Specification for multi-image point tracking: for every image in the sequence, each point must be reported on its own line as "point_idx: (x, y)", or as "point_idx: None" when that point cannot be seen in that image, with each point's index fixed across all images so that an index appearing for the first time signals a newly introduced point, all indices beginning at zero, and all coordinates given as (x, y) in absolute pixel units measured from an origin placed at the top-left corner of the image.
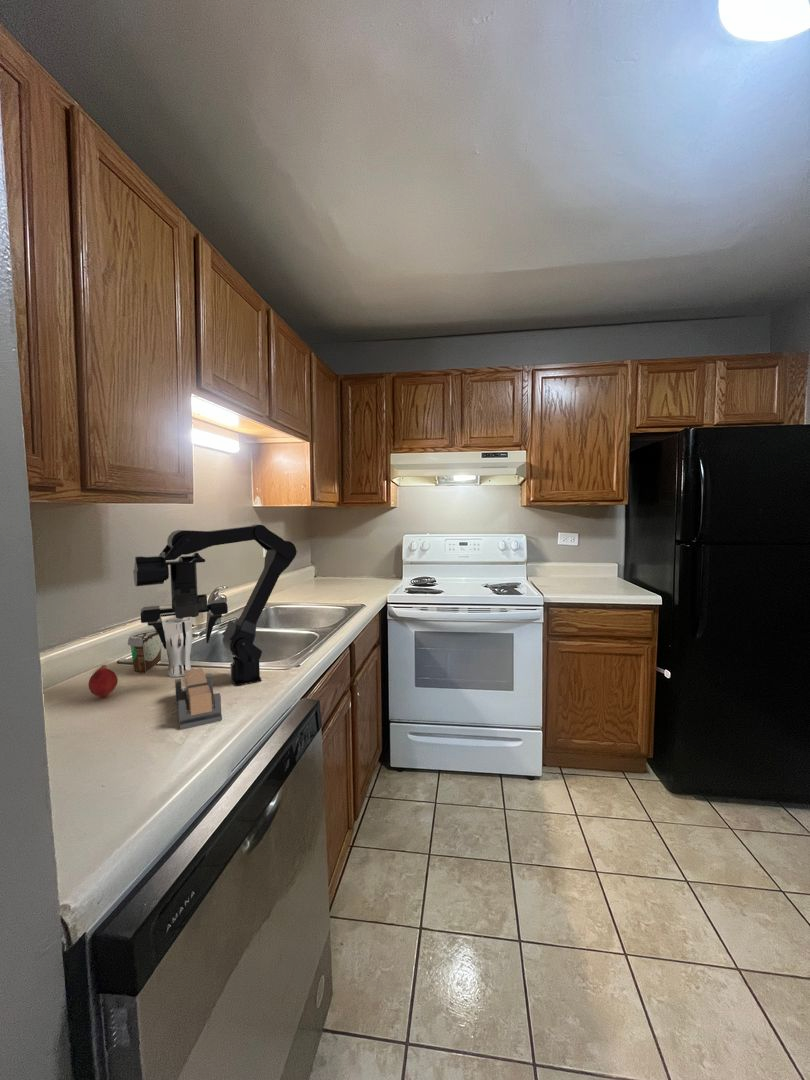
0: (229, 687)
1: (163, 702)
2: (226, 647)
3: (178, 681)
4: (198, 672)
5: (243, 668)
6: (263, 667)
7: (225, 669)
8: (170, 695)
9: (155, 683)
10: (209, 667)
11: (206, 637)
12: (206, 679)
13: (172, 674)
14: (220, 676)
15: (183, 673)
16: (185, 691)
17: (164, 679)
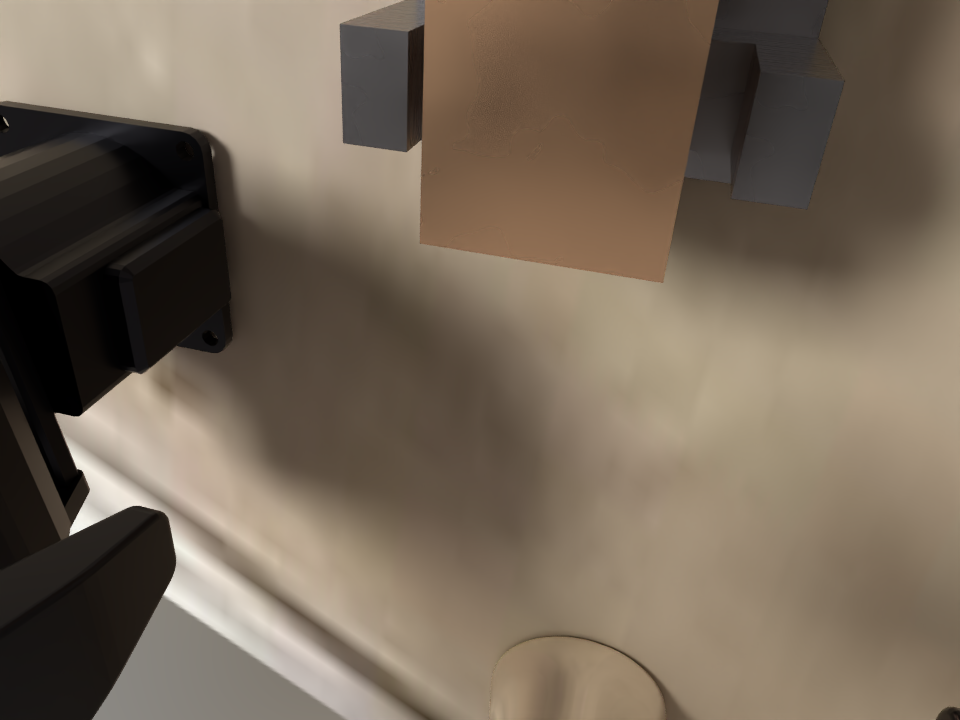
0: (267, 146)
1: (910, 161)
2: (20, 462)
3: (792, 95)
4: (497, 47)
5: (31, 191)
6: None
7: (270, 555)
8: (783, 308)
9: (793, 645)
10: (370, 660)
11: (78, 580)
12: None
13: (640, 687)
14: (316, 451)
15: (562, 652)
16: None
17: (707, 670)
